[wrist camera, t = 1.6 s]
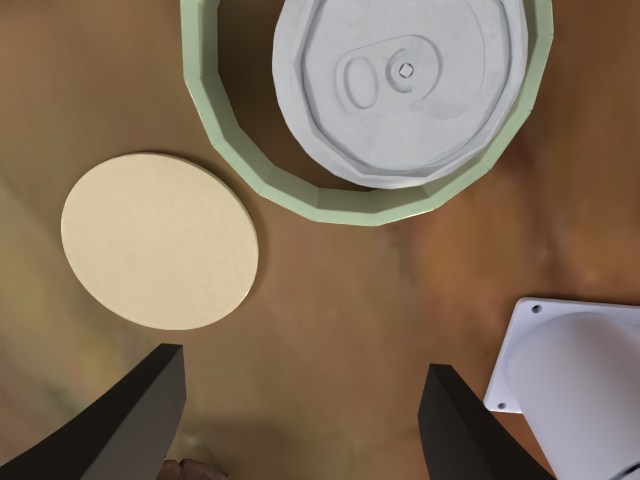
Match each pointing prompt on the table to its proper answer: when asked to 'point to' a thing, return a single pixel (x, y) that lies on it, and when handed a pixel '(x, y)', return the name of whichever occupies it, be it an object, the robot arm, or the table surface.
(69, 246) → the coaster
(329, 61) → the beer can
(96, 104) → the table surface
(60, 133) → the table surface
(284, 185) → the ring
